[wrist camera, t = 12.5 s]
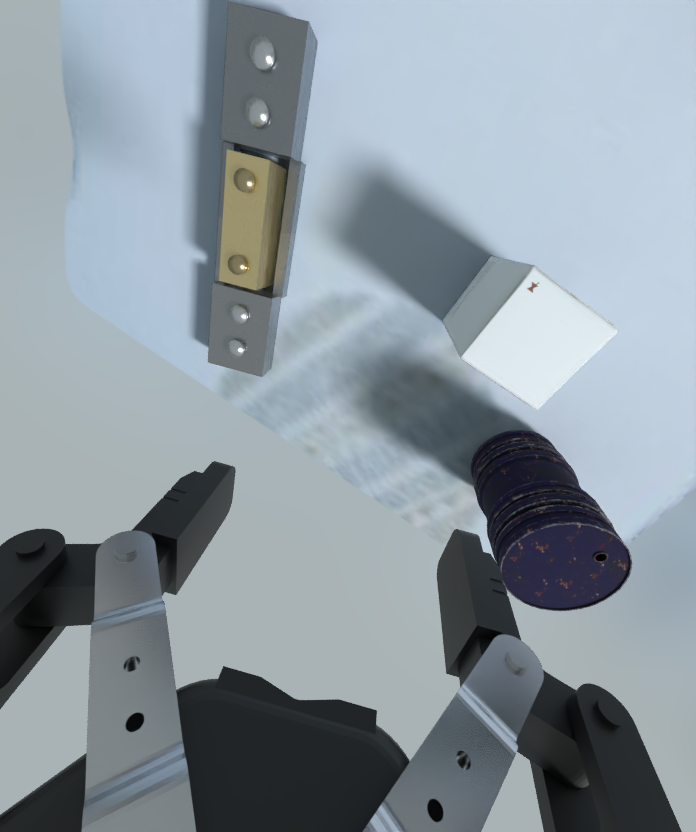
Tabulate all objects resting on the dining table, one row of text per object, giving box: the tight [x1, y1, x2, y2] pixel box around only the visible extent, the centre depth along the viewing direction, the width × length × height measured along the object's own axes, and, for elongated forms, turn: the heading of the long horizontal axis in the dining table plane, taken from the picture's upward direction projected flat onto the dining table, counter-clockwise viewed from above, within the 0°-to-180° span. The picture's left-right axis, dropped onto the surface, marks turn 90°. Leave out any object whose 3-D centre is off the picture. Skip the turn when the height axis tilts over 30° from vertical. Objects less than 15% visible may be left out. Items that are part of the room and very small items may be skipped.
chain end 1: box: [218, 2, 317, 235], centre depth 31 cm, size 14×7×4 cm, turn 167°
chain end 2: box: [208, 216, 295, 377], centre depth 37 cm, size 14×7×4 cm, turn 167°
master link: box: [219, 149, 287, 290], centre depth 33 cm, size 10×4×6 cm, turn 167°
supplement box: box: [443, 256, 618, 410], centre depth 30 cm, size 7×7×13 cm
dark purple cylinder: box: [471, 430, 632, 611], centre depth 36 cm, size 10×10×15 cm
